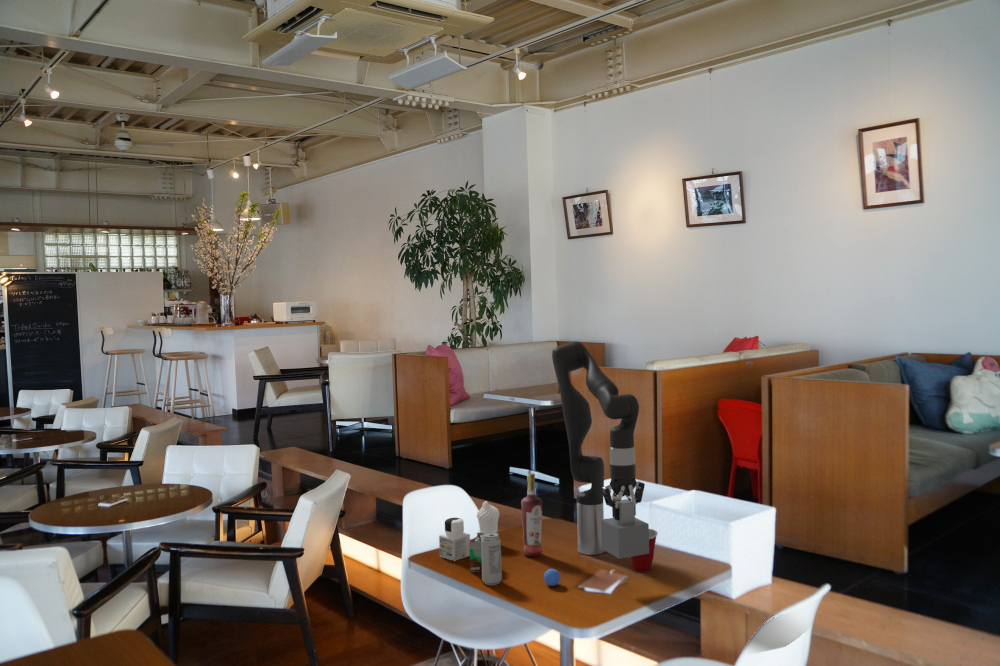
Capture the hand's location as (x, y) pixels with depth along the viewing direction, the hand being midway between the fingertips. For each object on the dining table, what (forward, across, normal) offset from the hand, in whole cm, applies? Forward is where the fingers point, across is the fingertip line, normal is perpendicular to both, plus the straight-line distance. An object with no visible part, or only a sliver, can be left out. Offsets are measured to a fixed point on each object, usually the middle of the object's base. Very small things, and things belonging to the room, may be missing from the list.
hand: (624, 518), depth 218 cm
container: (+22, +37, -52) cm, 67 cm away
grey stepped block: (+10, 0, 0) cm, 10 cm away
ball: (+19, +19, -12) cm, 29 cm away
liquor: (+22, +12, -41) cm, 48 cm away
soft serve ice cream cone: (+22, +22, -58) cm, 66 cm away
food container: (+22, +32, -36) cm, 53 cm away
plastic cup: (+22, -13, -13) cm, 29 cm away
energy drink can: (+21, +34, -22) cm, 46 cm away
